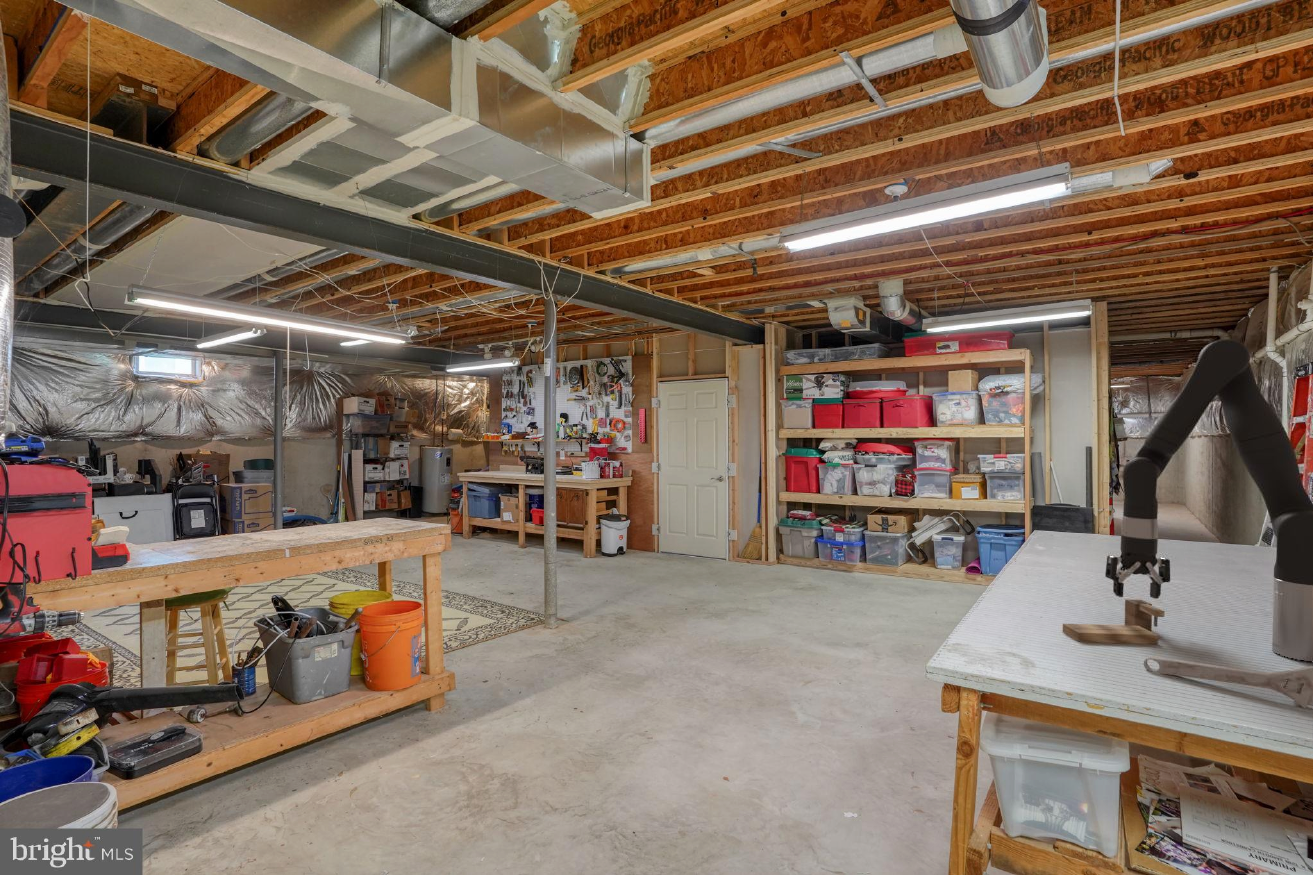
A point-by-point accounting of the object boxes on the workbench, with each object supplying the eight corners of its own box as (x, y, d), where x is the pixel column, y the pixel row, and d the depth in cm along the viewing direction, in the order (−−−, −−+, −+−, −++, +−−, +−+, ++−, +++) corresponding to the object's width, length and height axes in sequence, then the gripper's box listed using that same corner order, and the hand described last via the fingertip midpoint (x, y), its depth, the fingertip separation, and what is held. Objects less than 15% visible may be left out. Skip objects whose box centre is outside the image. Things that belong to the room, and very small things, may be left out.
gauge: (1141, 626, 164) (1141, 599, 164) (1168, 639, 154) (1168, 611, 154) (1124, 625, 164) (1125, 599, 164) (1150, 638, 154) (1151, 610, 154)
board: (1138, 634, 157) (1138, 625, 157) (1157, 644, 150) (1158, 634, 150) (1062, 632, 159) (1062, 623, 159) (1078, 641, 152) (1078, 632, 152)
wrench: (1148, 681, 136) (1353, 714, 113) (1145, 683, 135) (1353, 717, 112) (1143, 643, 136) (1347, 668, 113) (1140, 645, 135) (1346, 671, 112)
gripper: (1119, 536, 158) (1116, 600, 159) (1179, 538, 157) (1176, 602, 158) (1101, 531, 166) (1098, 591, 166) (1158, 533, 165) (1155, 594, 165)
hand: (1136, 597), depth 162 cm, fingers open, 8 cm apart
